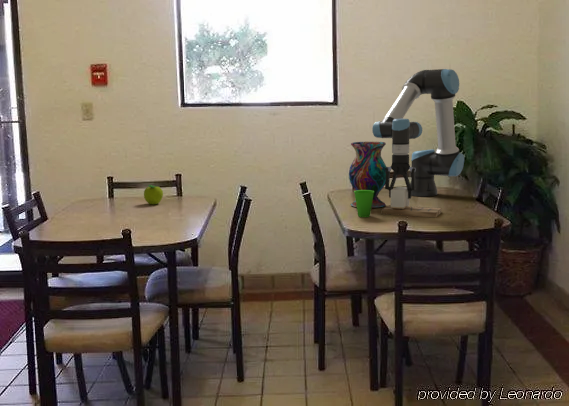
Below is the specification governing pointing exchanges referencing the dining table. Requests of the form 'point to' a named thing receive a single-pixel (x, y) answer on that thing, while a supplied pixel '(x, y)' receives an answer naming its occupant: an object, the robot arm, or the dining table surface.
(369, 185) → the vase
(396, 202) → the white cube
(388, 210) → the board
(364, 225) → the dining table surface
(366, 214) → the cup
